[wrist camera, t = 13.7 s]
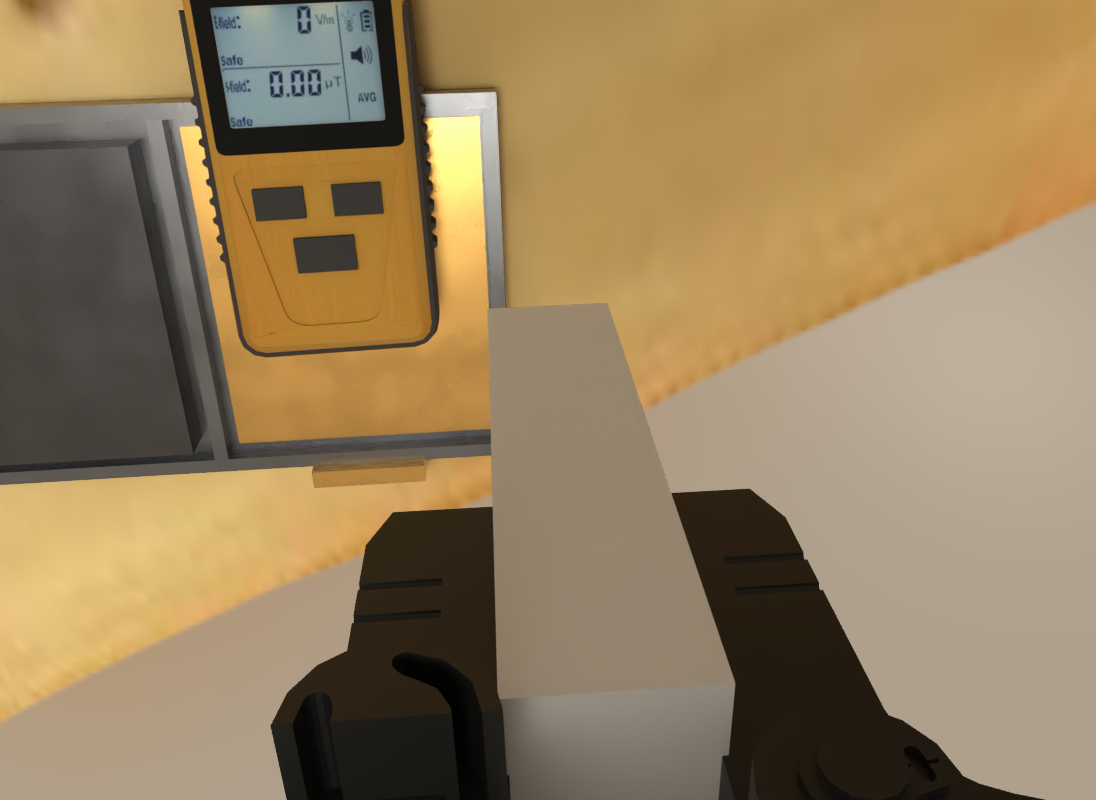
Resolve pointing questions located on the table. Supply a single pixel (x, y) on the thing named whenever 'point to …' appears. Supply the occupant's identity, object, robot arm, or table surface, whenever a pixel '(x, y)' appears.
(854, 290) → the table surface
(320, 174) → the electronic device
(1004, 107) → the table surface
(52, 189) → the grey flat frame
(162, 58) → the table surface
